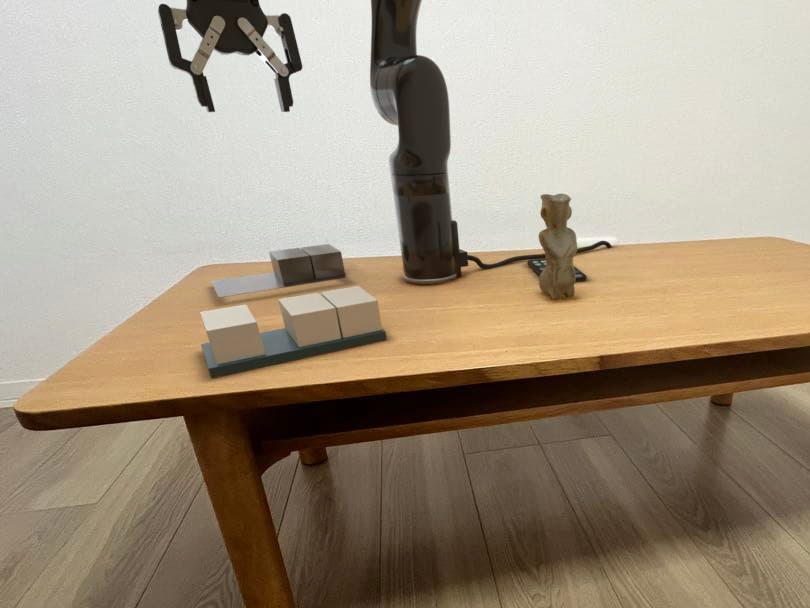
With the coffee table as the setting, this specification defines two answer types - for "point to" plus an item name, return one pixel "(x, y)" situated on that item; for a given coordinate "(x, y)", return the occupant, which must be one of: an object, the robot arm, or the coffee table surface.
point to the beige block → (232, 334)
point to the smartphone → (540, 264)
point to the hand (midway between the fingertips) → (249, 112)
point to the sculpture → (557, 247)
